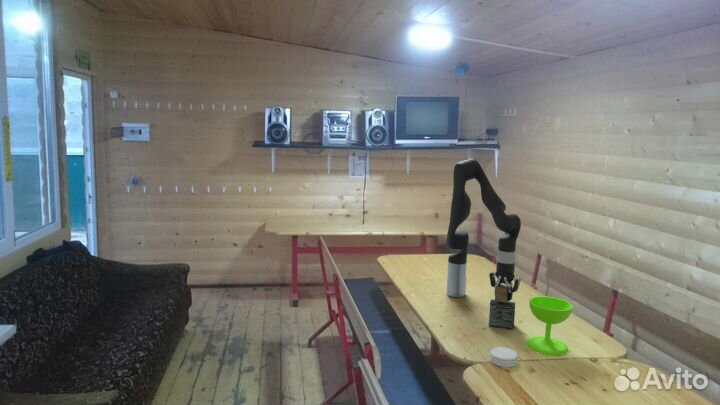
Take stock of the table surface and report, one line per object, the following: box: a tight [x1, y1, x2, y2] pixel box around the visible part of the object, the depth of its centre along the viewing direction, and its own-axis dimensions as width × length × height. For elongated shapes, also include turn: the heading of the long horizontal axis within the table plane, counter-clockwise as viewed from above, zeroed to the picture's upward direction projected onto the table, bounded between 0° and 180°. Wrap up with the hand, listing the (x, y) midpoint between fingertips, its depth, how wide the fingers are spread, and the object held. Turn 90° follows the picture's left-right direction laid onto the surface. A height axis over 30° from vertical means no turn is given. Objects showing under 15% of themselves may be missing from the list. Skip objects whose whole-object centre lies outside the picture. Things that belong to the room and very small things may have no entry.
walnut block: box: [494, 283, 509, 303], centre depth 214 cm, size 5×5×6 cm
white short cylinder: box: [489, 346, 519, 368], centre depth 183 cm, size 10×10×4 cm
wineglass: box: [525, 295, 574, 357], centre depth 195 cm, size 16×16×18 cm
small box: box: [488, 299, 516, 331], centre depth 216 cm, size 11×6×10 cm, turn 71°
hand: (503, 298), depth 214 cm, fingers closed on walnut block, 5 cm apart
